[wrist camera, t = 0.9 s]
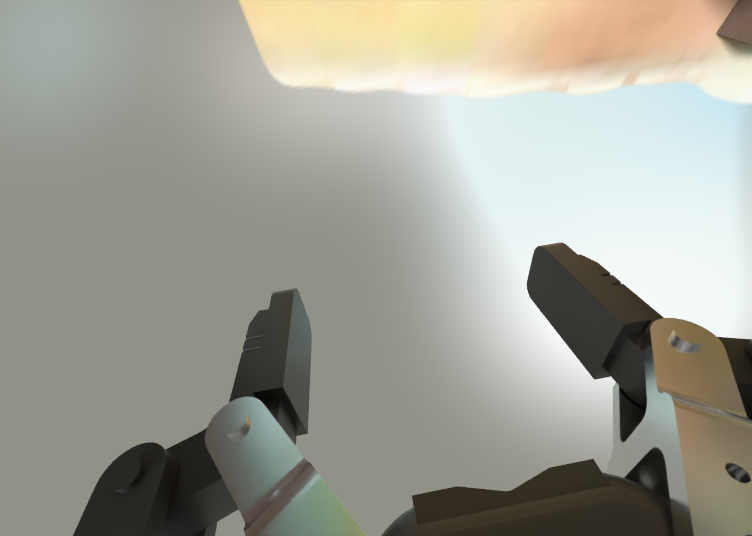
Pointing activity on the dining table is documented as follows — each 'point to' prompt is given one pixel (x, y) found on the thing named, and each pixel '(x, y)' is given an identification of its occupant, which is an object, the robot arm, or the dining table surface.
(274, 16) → the dining table surface
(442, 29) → the dining table surface
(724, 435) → the robot arm
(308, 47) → the dining table surface
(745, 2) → the grey panel
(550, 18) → the dining table surface
